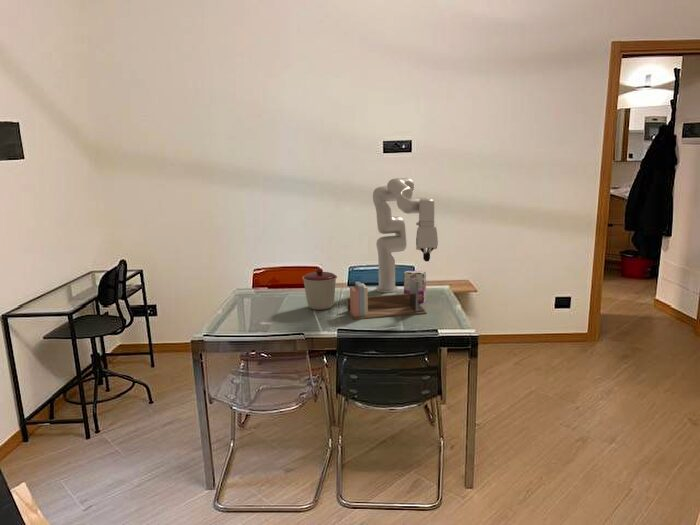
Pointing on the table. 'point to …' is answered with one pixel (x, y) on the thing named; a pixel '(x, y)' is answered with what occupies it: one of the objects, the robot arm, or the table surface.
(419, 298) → the candy bar box
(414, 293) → the bookend
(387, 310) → the shelf
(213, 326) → the table surface
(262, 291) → the table surface
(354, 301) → the books
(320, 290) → the canister
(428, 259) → the robot arm
